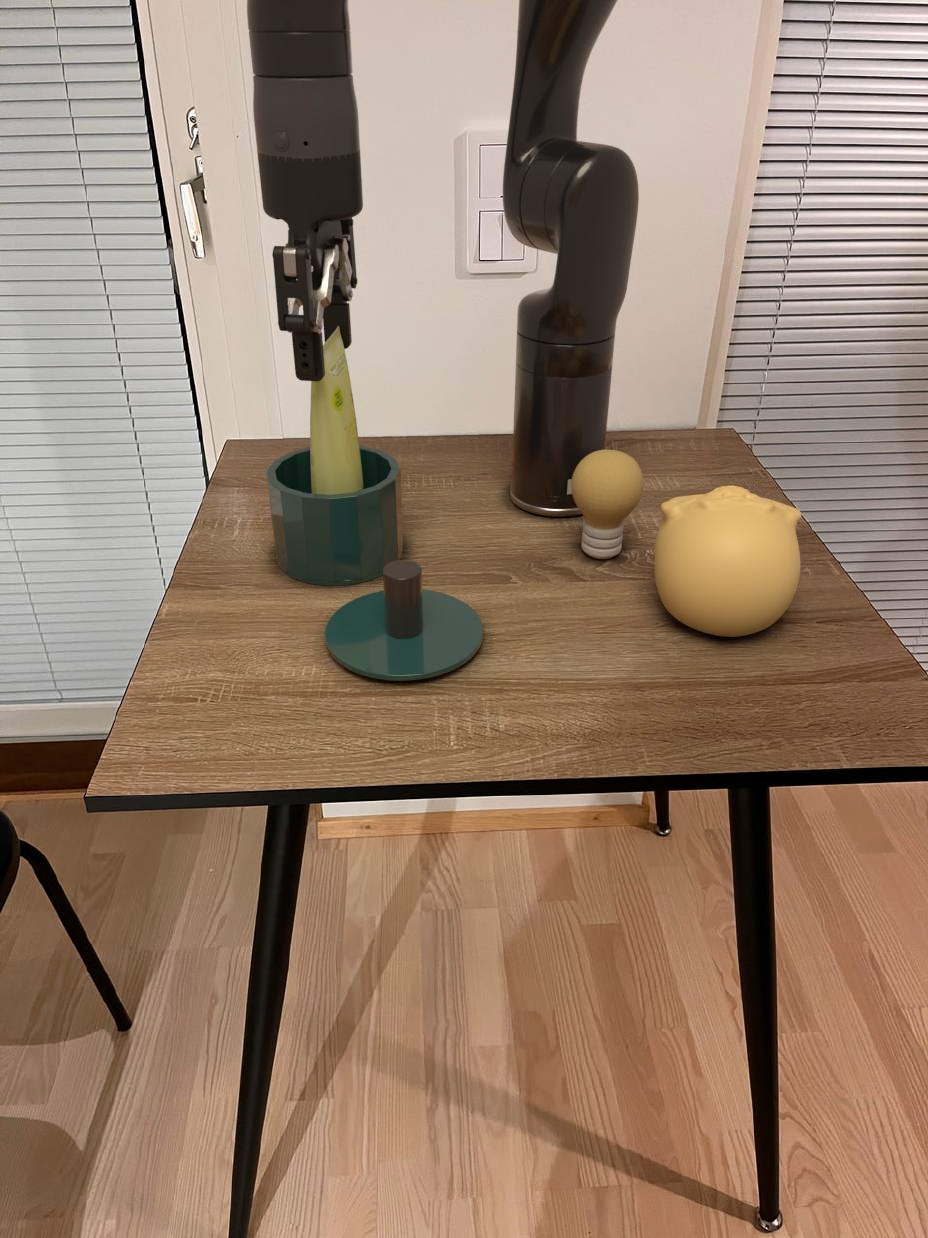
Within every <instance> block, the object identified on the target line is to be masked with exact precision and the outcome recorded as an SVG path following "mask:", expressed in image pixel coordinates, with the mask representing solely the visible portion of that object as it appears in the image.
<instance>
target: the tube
mask: <svg viewBox="0 0 928 1238" xmlns="http://www.w3.org/2000/svg"><path fill="white" fill-rule="evenodd" d="M323 353H324V365H325V376H324V377H323V378H322V380H320V381H310V409H309V410H310V412H309V413H310V415H309V420H310V421H309V426H310V427H309V432H310V433H309V447H310V460H311V488H312V494H324V495H333V494H343V493H353V492H356V491H360V490H363V489H364V486H363V475H362V466H361V456H360V447H359V445H360V442H359V441H360V439H359V432H358V431H359V430H358V424H357V423H358V422H357V417H356V409H355V404H354V396H353V389H352V383H351V376H350V371H349V365H348V359H347V356H346V349H344V345H343V341H342V338H341V334H340V328H339V326H338V327H337V329H336V330H335V331H334V332H333V334H332V335H331V336H330V337H329V339H328V340H327V341H326V342H325V341H324V343H323Z"/></svg>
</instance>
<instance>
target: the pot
mask: <svg viewBox="0 0 928 1238" xmlns="http://www.w3.org/2000/svg"><path fill="white" fill-rule="evenodd" d="M359 447H360V456H361V466H362V475H363V486H364V489H363V490H360V491H356V492H353V493H343V494H333V495H324V494H312V488H311V460H310V446H307V447H303V448H300V449H296V450H292V451H289V452H287V453H285V454H284V455H282V456H280V457H278V458H276V459H274V460H273V461H272V463H271V464H270V465H269V466H268V467H267V469H266V471H265V473H266V482H267V483H266V484H267V491H268V500H269V501H268V502H269V508H270V516H271V524H272V525H271V526H272V534H273V535H272V536H273V543H274V550H275V556H276V557H275V558H276V562H277V565H278V567H279V569H280V570H281V571H282V572H283V573H285V575H287V576H288V577H291V578H292V579H294V580H297V581H300V582H302V583H306V584H310V585H311V584H312V585H316V586H317V585H318V586H329V587H332V586H333V587H335V586H336V587H338V586H339V587H340V586H351V585H356V584H357V585H358V584H361V583H366V582H369V581H372V580H375V579H378V578H380V577H383V568H384V566H385V565H386V564H388V563H390V562H393V561H397V560H402V557H403V549H404V531H403V530H404V529H403V527H404V526H403V525H404V523H403V497H402V469H401V466H400V465H399V461H398V460H397V458H396V457H394V456H392V455H391V454H389V453H387V451H386V452H385V451H384V450H382V449H378V448H374V447H370V446H366V445H361V444H359Z"/></svg>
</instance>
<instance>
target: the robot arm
mask: <svg viewBox="0 0 928 1238" xmlns="http://www.w3.org/2000/svg"><path fill="white" fill-rule="evenodd" d="M617 3H618V0H518V11H517V12H518V13H517V15H518V16H517V30H516V34H517V35H516V50H515V65H514V77H513V87H512V95H511V96H512V97H511V106H510V113H509V122H508V130H507V138H506V145H505V146H506V147H505V156H504V164H503V174H502V209H503V214H504V219H505V223H506V225H507V228H508V231H509V232H510V233H511V235H512V237H513V238H514V239H515V240H516V241H517V242H518V243H520V244H521V245H524V246H526V247H528V248H532V249H536V250H540V251H542V252H547V253H549V254H555V255H557V258H556V263H555V270H554V271H555V272H554V275H553V276H554V277H553V282H552V285H551V286H550V287H548V288H543V289H540V290H535V291H533V292H530V293H528V294H526V295H524V296H523V297H522V298H521V299H520V301H519V303H518V305H517V312H516V338H515V339H516V341H515V344H516V345H515V372H514V374H515V375H514V401H513V405H514V406H513V429H512V430H513V431H512V454H511V455H512V457H511V458H512V459H511V484H510V487H509V497H510V500H511V502H512V503H513V504H514V505H515V506H516V507H518V508H519V509H522V510H524V511H525V512H528V513H531V514H534V515H539V516H546V517H556V518H557V517H558V518H561V517H562V518H563V517H573V516H579V515H583V514H582V512H581V511H580V510H579V508H578V506H577V505H576V503H575V501H574V498H573V495H572V490H571V482H572V477H573V473H574V471H575V469H576V467H577V465H578V464H579V463H580V461H581V460H582V459H583V458H585V457H586V456H587V455H589V454H591V453H593V452H595V451H599V450H606V440H607V430H608V419H609V410H610V409H609V407H610V398H611V397H610V396H611V387H612V374H613V364H614V363H613V362H614V353H615V352H614V351H615V350H614V349H615V341H616V340H615V338H616V331H617V329H616V328H617V321H618V316H619V314H620V311H621V309H622V307H623V304H624V301H625V298H626V294H627V291H628V283H629V279H630V278H629V277H630V268H631V263H632V256H633V250H634V249H633V248H634V243H635V237H636V230H637V222H638V215H639V204H640V203H639V201H640V192H639V191H640V189H639V180H638V174H637V170H636V167H635V163H634V162H633V160H632V158H631V157H630V156H629V155H628V154H627V152H625V150H622V149H621V148H619V147H616V146H614V145H609V144H604V143H598V142H590V141H583V140H582V141H581V140H578V121H579V120H578V119H579V109H580V99H581V92H582V87H583V86H582V85H583V81H584V80H583V79H584V76H585V72H586V67H587V65H588V62H589V60H590V57H591V54H592V52H593V50H594V47H595V46H596V43H597V41H598V39H599V37H600V34H602V31H603V29H604V28H605V26H606V23H607V21H608V19H609V18H610V16H611V14H612V12H613V10H614V8H615V6H616V4H617ZM246 18H247V30H248V37H249V38H248V39H249V49H250V57H251V66H252V74H253V75H252V81H253V82H252V84H253V93H252V94H253V97H252V108H253V109H252V110H253V111H252V113H253V123H254V134H255V143H256V144H255V145H256V153H257V161H258V162H257V163H258V173H259V182H260V190H261V191H260V192H261V201H262V209H263V211H264V213H265V214H266V215H267V216H268V217H269V218H272V219H274V220H282V222H285V223H286V224H287V227H288V230H287V243H286V244H285V245H274V246H273V249H272V253H271V255H272V262H273V275H274V286H275V298H276V299H275V300H276V310H277V325H278V329H279V331H281V332H288V333H291V340H292V342H291V343H292V352H293V361H294V372H295V373H294V374H295V377H296V379H298V380H299V381H301V382H302V381H303V382H311V381H320V380H322V378H323V377H324V376H325V365H324V353H323V345H324V343H325V342H326V341H327V340H328V339H329V337H330V336H331V335H332V334H333V332H334V331H335V330H336V329H337V327H338V326H339V328H340V334H341V338H342V341H343V345H344V349H345V350H347V349H348V348H350V346H351V345H352V343H353V342H352V341H353V340H352V326H351V325H352V324H351V307H350V303H349V302H351V301H352V299H353V296H354V292H353V289H354V290H355V289H357V285H358V281H359V280H358V277H357V261H356V250H355V249H356V248H355V235H354V219H353V218H354V217H357V216H358V215H359V214H360V213H361V212H362V211H363V208H364V200H363V199H364V198H363V180H362V178H363V177H362V159H361V158H362V157H361V141H360V123H359V122H360V120H359V118H360V117H359V111H358V110H359V108H358V101H357V96H356V91H355V84H354V75H353V73H354V72H353V71H354V70H353V53H352V36H351V34H352V33H351V23H350V22H351V21H350V20H351V19H350V12H349V0H246ZM301 307H302V314H300V308H301ZM322 330H323V331H322ZM323 337H324V338H323ZM323 339H324V342H323Z"/></svg>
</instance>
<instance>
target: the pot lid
mask: <svg viewBox="0 0 928 1238" xmlns="http://www.w3.org/2000/svg"><path fill="white" fill-rule="evenodd" d="M382 588H383V590H379V591H375V592H371V593H368V594H363V595H362V596H359V597H357V598H355V599H353V600H350V601H349V602H347V603H345V604H344V605H342V606H341V607H339V608H338V609H337V610H336V611H335V612H334V613H333V614H332V615H331V616H330V618H329V619H328V622H327V623H326V626H325V631H324V641H325V646H326V649H327V651H328V652H329V654H330V656H331V657H332V658H333V659H334V660H335V662H337V663H338V664H340V666H342V667H344V668H346V669H347V670H349V671H351V672H353V673H356V674H358V675H361V676H363V677H367V678H371V679H375V680H376V679H377V680H383V681H384V680H385V681H397V682H403V681H407V682H408V681H417V680H424V679H425V680H426V679H430V678H434V677H438V676H442V675H444V674H446V673H447V674H448V673H449V672H452V671H454V670H457V669H458V668H460V667H462V666H463V665H465V664H466V663H467V662H468V661H470V660H471V659H472V658H473V657H474V656H475V655H476V653H477V652H478V651H479V649H480V648H481V645H482V643H483V637H484V626H483V622H482V620H481V618H480V616H479V614H478V613H477V612H476V611H475V610H474V608H472V607H471V606H470V605H469V604H467V603H466V602H464V601H463V600H462V599H459V598H457V597H455V596H452V595H449V594H447V593H443V592H439V591H437V590H436V591H435V590H430V589H425V588H423V568H422V566H421V565H420V564H419V563H417V562H415V561H413V560H409V559H400V560H397V561H393V562H390V563H388V564H386V565H385V566H384V568H383V575H382Z"/></svg>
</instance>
